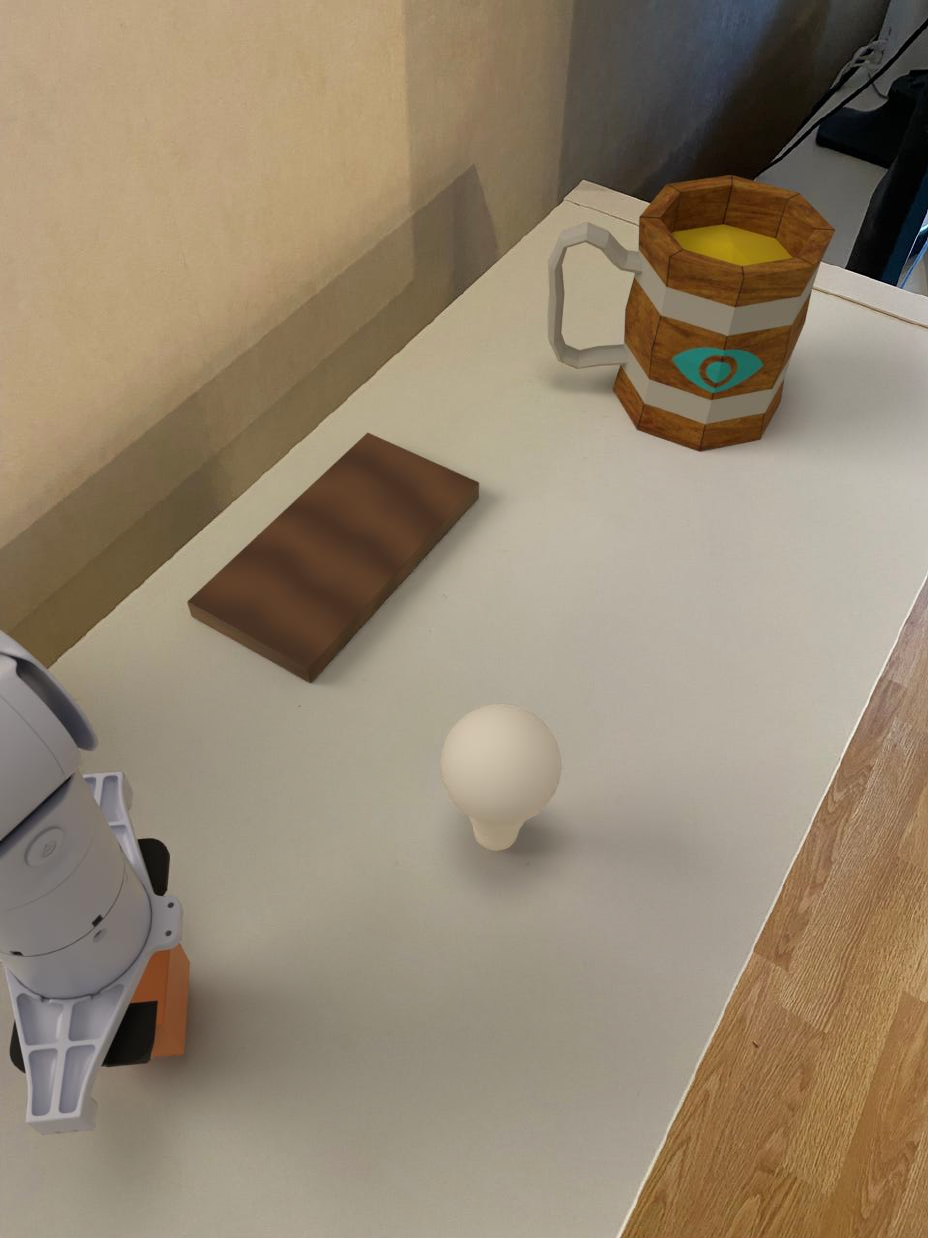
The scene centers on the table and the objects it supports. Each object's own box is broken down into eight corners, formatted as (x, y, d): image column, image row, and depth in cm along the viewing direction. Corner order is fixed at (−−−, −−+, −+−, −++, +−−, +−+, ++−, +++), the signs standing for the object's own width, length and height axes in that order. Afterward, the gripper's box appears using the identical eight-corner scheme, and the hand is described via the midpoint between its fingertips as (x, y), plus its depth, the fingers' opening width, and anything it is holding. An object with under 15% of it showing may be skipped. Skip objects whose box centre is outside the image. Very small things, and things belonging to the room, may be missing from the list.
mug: (773, 351, 86) (824, 180, 74) (788, 458, 78) (848, 285, 66) (542, 333, 87) (556, 163, 76) (532, 437, 79) (546, 263, 67)
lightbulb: (488, 909, 55) (495, 811, 46) (419, 829, 58) (414, 723, 49) (571, 844, 57) (593, 739, 49) (501, 770, 60) (510, 659, 52)
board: (310, 683, 64) (308, 669, 63) (191, 616, 67) (186, 601, 66) (479, 497, 75) (479, 482, 74) (368, 447, 78) (367, 431, 77)
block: (87, 1064, 48) (59, 1035, 44) (99, 970, 51) (73, 936, 47) (184, 1054, 48) (163, 1025, 45) (190, 961, 51) (171, 926, 48)
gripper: (136, 1075, 34) (210, 1162, 44) (170, 711, 43) (225, 855, 53) (-84, 1098, 33) (44, 1180, 44) (-3, 724, 42) (87, 867, 53)
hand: (133, 1002), depth 48 cm, fingers closed on block, 4 cm apart
